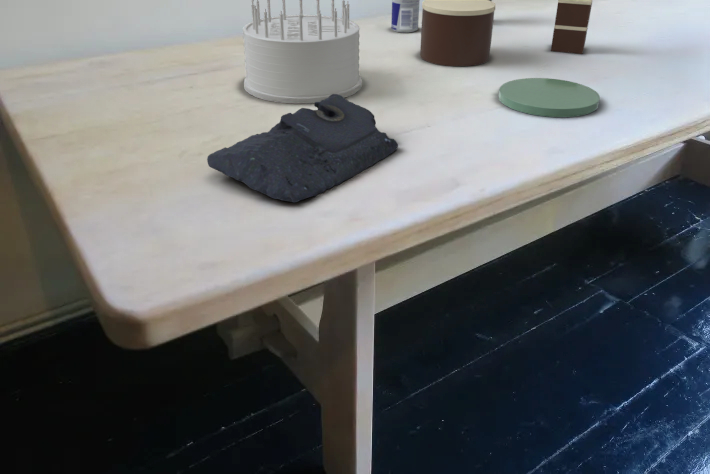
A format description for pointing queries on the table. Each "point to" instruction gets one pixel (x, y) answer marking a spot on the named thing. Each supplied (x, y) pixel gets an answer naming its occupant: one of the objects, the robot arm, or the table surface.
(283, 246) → the table surface
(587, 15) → the cake slice
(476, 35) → the cake
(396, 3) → the energy drink
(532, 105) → the plate
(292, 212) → the table surface
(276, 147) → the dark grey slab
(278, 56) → the cake
